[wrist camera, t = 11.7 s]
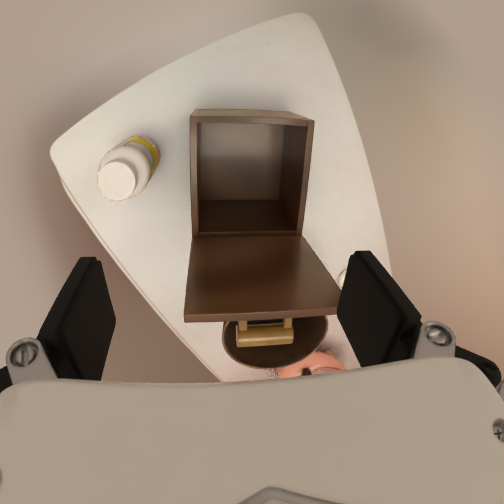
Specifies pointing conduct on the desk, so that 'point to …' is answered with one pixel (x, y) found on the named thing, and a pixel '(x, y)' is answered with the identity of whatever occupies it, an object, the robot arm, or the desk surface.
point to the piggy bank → (312, 365)
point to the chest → (249, 172)
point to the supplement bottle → (127, 168)
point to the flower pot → (277, 356)
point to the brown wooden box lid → (257, 285)
